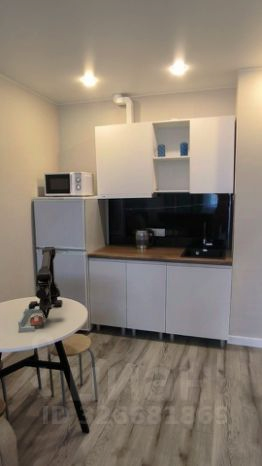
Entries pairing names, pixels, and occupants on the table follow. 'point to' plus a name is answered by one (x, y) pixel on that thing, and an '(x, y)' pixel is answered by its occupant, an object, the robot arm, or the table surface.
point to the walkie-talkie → (38, 321)
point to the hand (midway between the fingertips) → (46, 318)
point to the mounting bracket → (25, 318)
